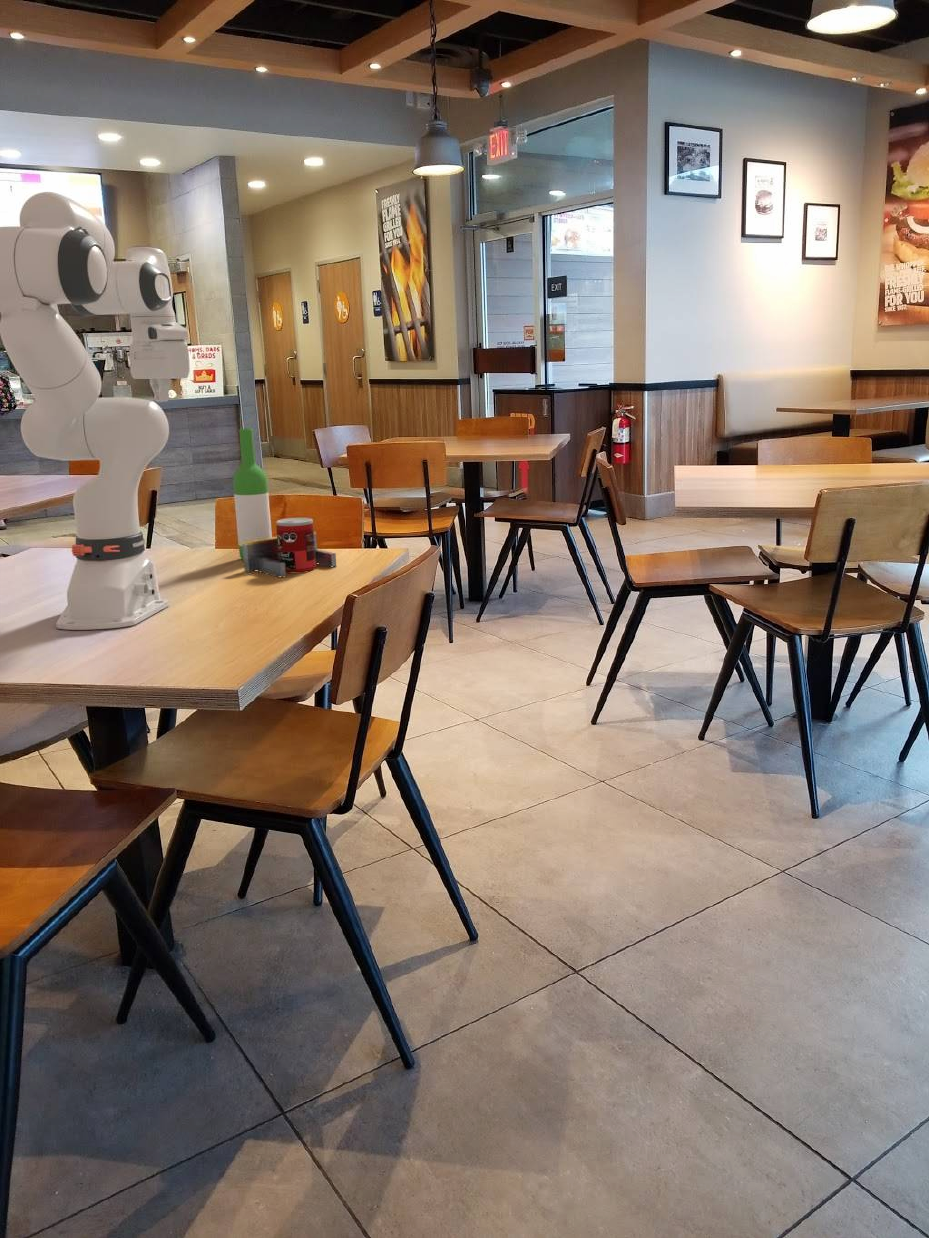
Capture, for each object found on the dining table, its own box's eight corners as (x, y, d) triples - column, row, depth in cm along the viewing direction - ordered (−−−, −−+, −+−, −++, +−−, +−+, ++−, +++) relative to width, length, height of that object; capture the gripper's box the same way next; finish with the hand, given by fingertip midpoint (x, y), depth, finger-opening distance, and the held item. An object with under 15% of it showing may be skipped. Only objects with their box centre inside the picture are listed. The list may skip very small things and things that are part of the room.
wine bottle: (257, 554, 230) (246, 427, 222) (280, 557, 225) (270, 428, 217) (232, 560, 223) (220, 430, 216) (256, 563, 219) (244, 430, 211)
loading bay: (343, 565, 214) (341, 536, 213) (273, 578, 203) (271, 548, 201) (312, 558, 223) (310, 530, 221) (244, 571, 211) (242, 542, 209)
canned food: (274, 569, 213) (270, 520, 210) (308, 564, 217) (305, 516, 214) (287, 574, 206) (283, 524, 203) (321, 570, 210) (318, 520, 207)
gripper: (118, 334, 200) (126, 401, 204) (162, 330, 186) (170, 403, 189) (146, 334, 205) (154, 400, 208) (192, 330, 190) (199, 401, 194)
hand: (162, 401), depth 199 cm, fingers closed
